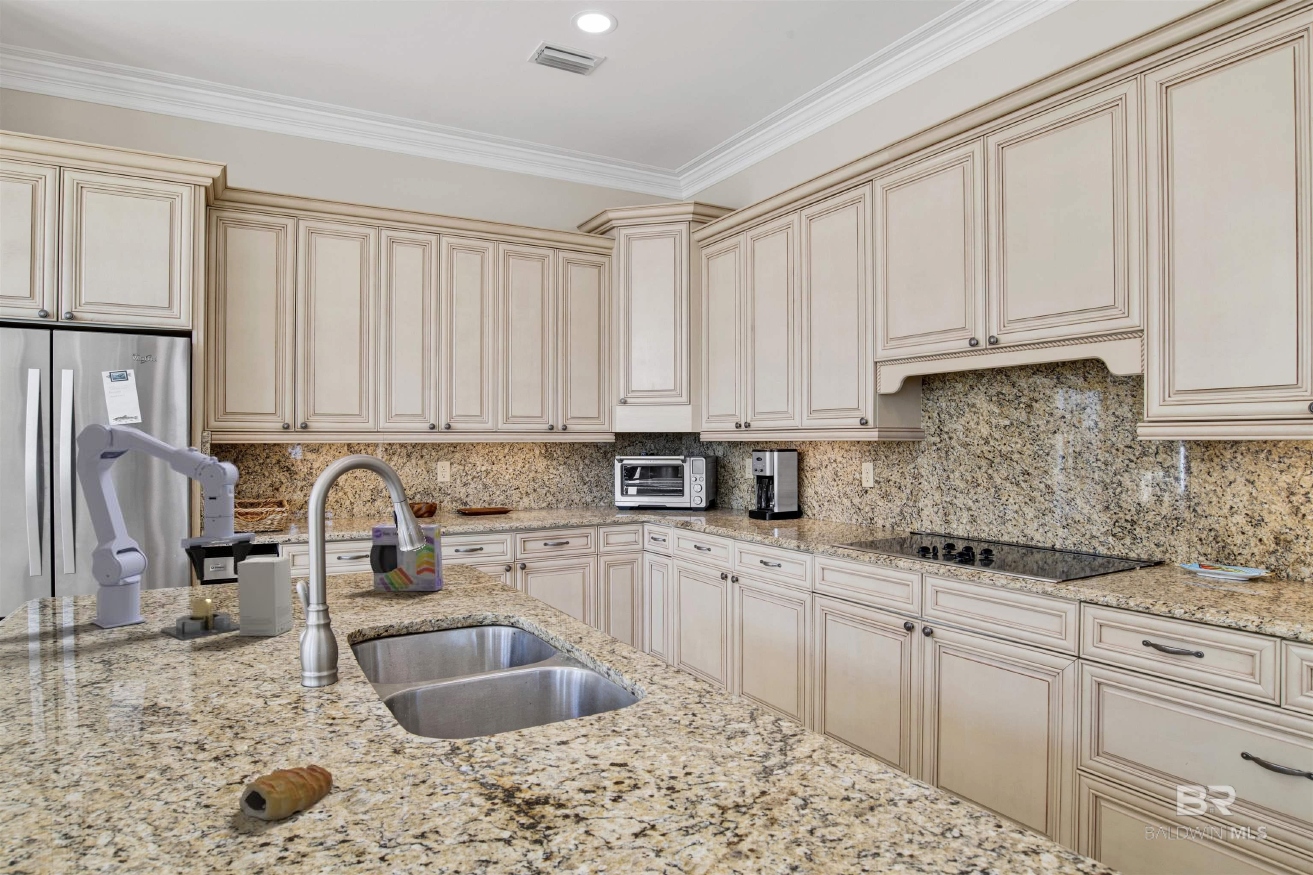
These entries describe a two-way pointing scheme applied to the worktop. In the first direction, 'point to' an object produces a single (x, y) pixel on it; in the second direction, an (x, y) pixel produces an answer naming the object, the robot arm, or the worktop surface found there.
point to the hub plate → (194, 635)
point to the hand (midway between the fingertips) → (219, 577)
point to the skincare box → (265, 596)
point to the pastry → (285, 792)
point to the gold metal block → (203, 611)
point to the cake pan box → (406, 561)
